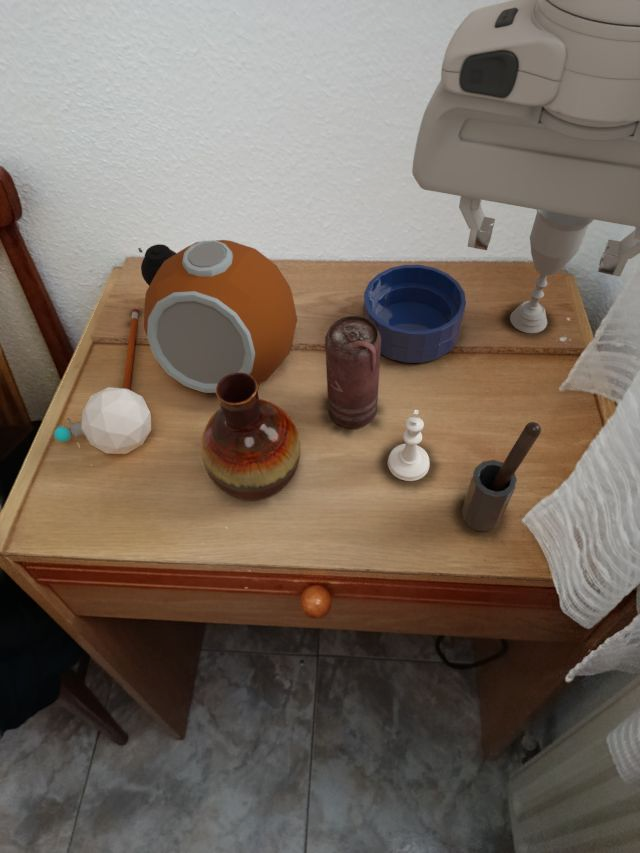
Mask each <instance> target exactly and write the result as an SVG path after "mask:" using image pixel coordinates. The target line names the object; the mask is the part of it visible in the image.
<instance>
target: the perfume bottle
mask: <svg viewBox="0 0 640 853" xmlns="http://www.w3.org/2000/svg"><path fill="white" fill-rule="evenodd" d="M149 409H150V408H149V407H148V405H147V403H146V401H145V399H144V397H143V396H142V395H140V394H139V393H136V392H134V391H132V390H131V389H130V390H129V389H123V387H121V388H120V387H110V386H109V387H106V388H104V389H102V390H100V391H98V392H96V393H94V394H92V395H90V396H89V399H88V400H87V402H86V404H85V406H84V408H83V409H82V412H81V421H79V422H75V423H74V422H72V421H71V420H70V418H69V417H67V421H68V423H69V426H66V425H63V424H62V425H58V426H57V427H56V428H55V430H54V433H53V435H54V438H55V439H56V441H58V442H59V443H60V442H61V443H63V442H64V443H67V442H68V441H70V440H71V438H72V435H73V437H74V438H75V439H76V443H77V446H78V448H79V449H81V446H80V440H79V436H85V437H86V439H87V441H88V442H89V444H90V445H91V447H92V446H93V447H94V448H96V449H97V450H99V451H101V452H103V453H105V454H108V455H110V454H111V455H112V454H113V455H127V454H128V453H130V452H132V451H134V450H136V449H138V448H139V447H141V446H143V445H144V443H145V441H146V439H147V438H148V436H149V435H150V433H151V431H152V413H151V411H150V410H149Z"/></svg>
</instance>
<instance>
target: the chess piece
mask: <svg viewBox="0 0 640 853" xmlns="http://www.w3.org/2000/svg"><path fill="white" fill-rule="evenodd" d="M419 412H420V410H419V409H414V411H413V416H410V417H407V418H406V420H405V421H404V426H405V429H406V430H404V432H403V433H402V439H403V441H404V442H405V443H402V444H398V445H396V446H395V447H394V448H392V450H391V451H390V452H389V455H388V457H387V467H388V469H389V472H390V473H391V474H392V475H393V476H394V477H395V478H396V479H399V480H401V481H406V482H414V481H418V480H420V479H422V478H424V477H425V476H426V475H427V474H428V472H429V470H430V466H431V463H430V457H429V454H428V453H427V451H426V450H425V449H424V448H422V446H420V445H418V444H420V443H421V442H422V441H423V434H422V431H423V429H424V428H425V427H424V426H425V423H424V421H423V419H422V418H420V417H419Z"/></svg>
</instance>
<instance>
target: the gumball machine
mask: <svg viewBox="0 0 640 853" xmlns="http://www.w3.org/2000/svg"><path fill="white" fill-rule="evenodd" d="M138 251H139V253H143V249H142V248H141V247H138ZM176 253H177V252H176V251H174V250H172V249H171V248H170V247H169V246H167V245H165V244H161V243H160V244H154V245H151V246H149V247H148V248H147V249H146V250H145V253H144V257H143V259H142V261H141V265H140V271H141V277H142V278H143V280H144V282H145V283H146V284H147V285H148V287H149V286H150V284H151V282H152V280H153V278H154V277H155V275H156V273H157V271H158V270H159V268H160V267H161V265H162V264H163V263H164V261H165V260H167V259H168V258H170V257H172V256H173V255H175V254H176Z"/></svg>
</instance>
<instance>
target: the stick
mask: <svg viewBox="0 0 640 853" xmlns="http://www.w3.org/2000/svg"><path fill="white" fill-rule="evenodd" d="M541 432H542V427H541V425H540V424H539V423H538V422H534V421H531V422H528V423H527V424H525V426H524V428H523V429H522V431H521V433H520V435H519V436H518V438H517V439H516V441H515V442H514V444H513V446H512V448H511V450H510V451H509V453H508V454H507V456H506V457H505V459H504V460H503V464H502V466H501V468H500V469H499V471H498V473H497V474H496V476H495V478H494V479H493V481H492V482H491V484H490V486H489V487H488V489H489V490H492V491H496V492H497V491H503V490H504V489H505V487H506V486H507V484H508V482H509V481H510V479H511V478H512V476H513V475H514V473H515V474H516V473H517V470H518V469H519V467H520V465H521V464H522V462H523V461H524V460H525V458H526V456H527V455H528V453H529V452H530V451H531V449H532V447H533V445H534V444H535V442H536V441H537V440H538V438H539V436H540V435H541Z"/></svg>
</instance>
